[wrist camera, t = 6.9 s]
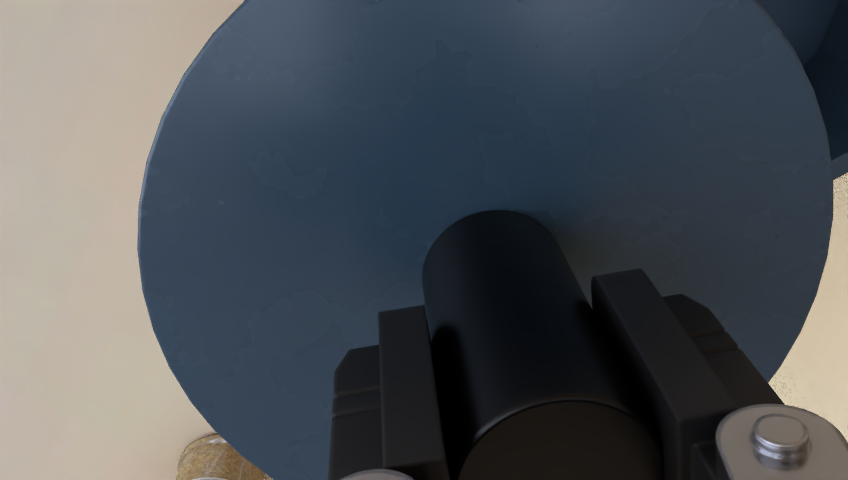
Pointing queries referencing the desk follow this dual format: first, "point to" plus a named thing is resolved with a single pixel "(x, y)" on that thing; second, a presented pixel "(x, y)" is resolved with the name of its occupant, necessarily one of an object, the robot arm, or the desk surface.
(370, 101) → the lid
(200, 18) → the desk surface
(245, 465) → the sprinkles bottle
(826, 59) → the pot
